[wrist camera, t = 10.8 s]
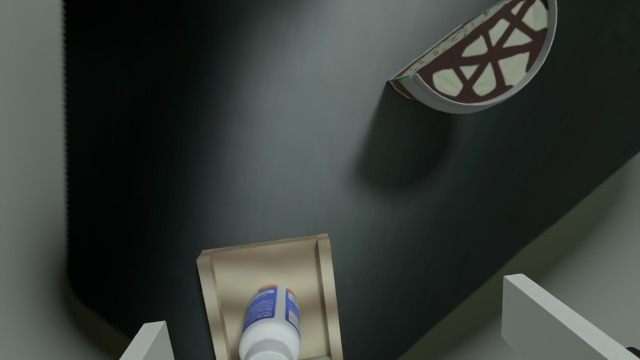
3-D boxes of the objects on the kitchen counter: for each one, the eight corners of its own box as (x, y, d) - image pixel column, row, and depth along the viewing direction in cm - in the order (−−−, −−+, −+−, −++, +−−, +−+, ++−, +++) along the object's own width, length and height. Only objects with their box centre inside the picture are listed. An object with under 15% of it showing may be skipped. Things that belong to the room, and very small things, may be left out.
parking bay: (203, 250, 34) (191, 267, 30) (327, 233, 35) (331, 248, 31) (226, 372, 37) (219, 402, 33) (340, 354, 38) (346, 381, 34)
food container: (407, 138, 34) (454, 147, 24) (374, 89, 33) (409, 78, 23) (504, 66, 33) (592, 45, 23) (474, 13, 32) (555, -32, 22)
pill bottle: (242, 319, 35) (223, 396, 25) (257, 275, 34) (242, 337, 24) (291, 331, 36) (289, 409, 26) (306, 288, 35) (310, 353, 25)
